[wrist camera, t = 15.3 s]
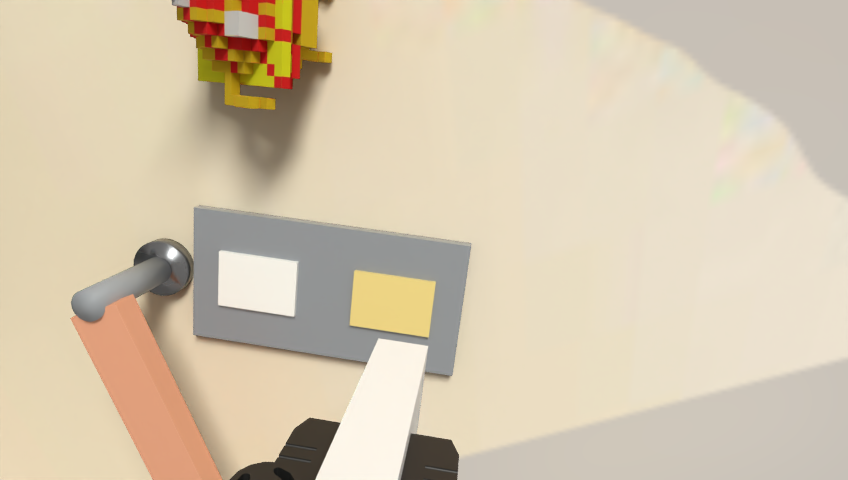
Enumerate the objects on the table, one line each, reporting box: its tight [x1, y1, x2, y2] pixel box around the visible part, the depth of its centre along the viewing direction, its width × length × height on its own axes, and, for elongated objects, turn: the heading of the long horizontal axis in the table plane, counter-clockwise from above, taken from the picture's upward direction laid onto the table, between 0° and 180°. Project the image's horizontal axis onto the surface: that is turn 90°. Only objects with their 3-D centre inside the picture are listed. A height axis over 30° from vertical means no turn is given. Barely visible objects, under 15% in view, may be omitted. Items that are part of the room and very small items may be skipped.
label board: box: [193, 205, 471, 376], centre depth 47 cm, size 24×12×1 cm, turn 83°
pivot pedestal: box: [134, 239, 194, 296], centre depth 48 cm, size 5×5×1 cm
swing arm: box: [71, 257, 222, 480], centre depth 45 cm, size 26×4×10 cm, turn 19°
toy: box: [172, 0, 332, 110], centre depth 37 cm, size 14×10×15 cm
